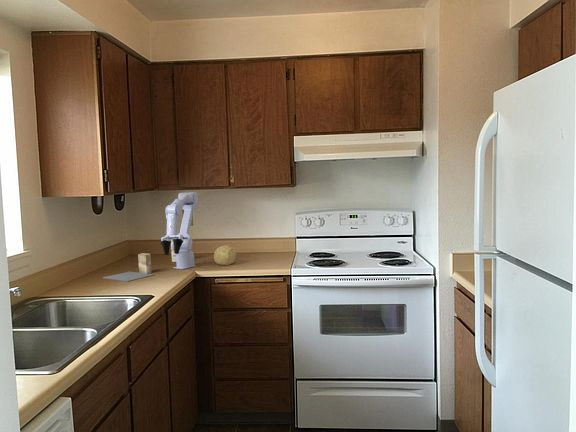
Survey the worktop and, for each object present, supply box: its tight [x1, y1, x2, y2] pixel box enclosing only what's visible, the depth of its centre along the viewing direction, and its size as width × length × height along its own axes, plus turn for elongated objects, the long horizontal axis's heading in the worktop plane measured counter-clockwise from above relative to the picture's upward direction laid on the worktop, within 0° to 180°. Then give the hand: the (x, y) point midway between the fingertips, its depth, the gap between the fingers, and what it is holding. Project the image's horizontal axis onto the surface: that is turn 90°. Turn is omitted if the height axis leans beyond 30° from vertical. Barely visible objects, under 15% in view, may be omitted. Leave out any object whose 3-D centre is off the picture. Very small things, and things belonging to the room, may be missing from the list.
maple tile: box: [137, 252, 152, 274], centre depth 259 cm, size 3×6×10 cm, turn 54°
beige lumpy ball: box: [213, 244, 237, 266], centre depth 275 cm, size 11×12×11 cm
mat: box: [102, 271, 155, 282], centre depth 251 cm, size 16×20×1 cm
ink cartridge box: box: [170, 240, 176, 263], centre depth 294 cm, size 9×5×15 cm, turn 101°
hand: (171, 254), depth 254 cm, fingers open, 7 cm apart
